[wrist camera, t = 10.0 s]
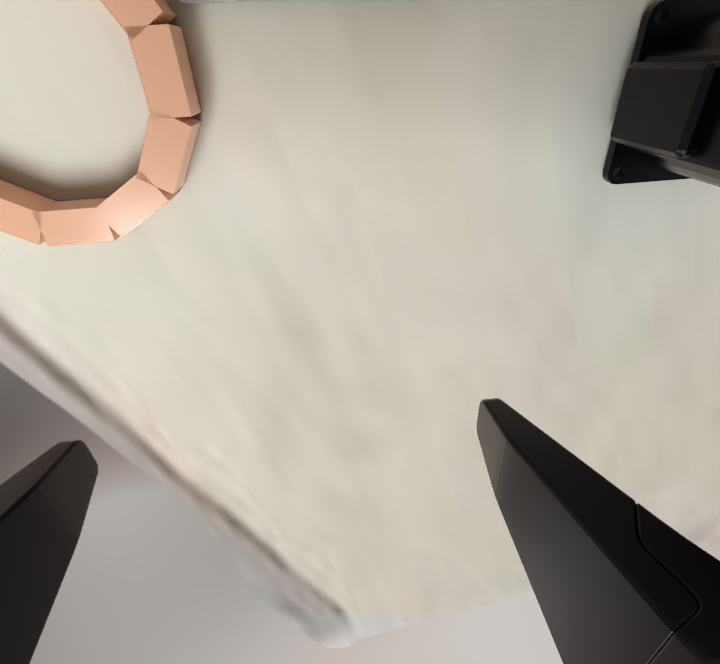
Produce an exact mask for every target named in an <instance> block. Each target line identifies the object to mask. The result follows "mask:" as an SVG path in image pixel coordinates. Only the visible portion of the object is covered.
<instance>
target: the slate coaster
mask: <svg viewBox="0 0 720 664" xmlns="http://www.w3.org/2000/svg"><path fill="white" fill-rule="evenodd" d="M179 1H180V2H182V3H184V4H188V3H205V2H222V1H239V0H179Z"/></svg>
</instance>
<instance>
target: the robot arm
mask: <svg viewBox="0 0 720 664" xmlns="http://www.w3.org/2000/svg"><path fill="white" fill-rule="evenodd" d="M659 11H661V13H662V16H661V19H660V21H659V23H658V24H657V25H656V23H655V17H656V15H657V13H658V12H659ZM611 137H612V138H611V142H610V146H609V150H608V154H607V158H606V162H605V165H604V169H603V178H604V180H606V181H607V182H609V183H612V184H625V183H637V182H650V181H663V180H676V179H688V178H693V179H696V180H699V181H703V182H706V183H709V184H712V185H715V186H719V187H720V0H662V1H658V2H654V3H653V4H652V5H650V6H649V7H648V8H647V10H646V11H645V12H644V15H643V17H642V20H641V24H640V28H639V32H638V36H637V40H636V44H635V48H634V52H633V56H632V60H631V63H630V67H629V68H628V69H627V72H626V76H625V80H624V84H623V88H622V91H621V95H620V99H619V103H618V107H617V111H616V115H615V119H614V123H613V127H612V131H611ZM618 167H619V172H618V173H617V174H616V175H615V176H613V173H614V171H615V169H617V168H618ZM477 434H478V438H479V441H480V445H481V448H482V452H483V455H484V459H485V462H486V466H487V470H488V473H489V477H490V480H491V484H492V487H493V490H494V494H495V497H496V499H497V502H498V505H499V507H500V510H501V512H502V515H503V517H504V520H505V522H506V524H507V527H508V529H509V532H510V534H511V537H512V539H513V542H514V544H515V546H516V549H517V551H518V554H519V556H520V559H521V561H522V564H523V566H524V568H525V571H526V573H527V576H528V578H529V581H530V583H531V586H532V588H533V591H534V593H535V595H536V598H537V600H538V603H539V605H540V607H541V610H542V613H543V615H544V617H545V620H546V622H547V625H548V627H549V629H550V632H551V635H552V637H553V639H554V642H555V644H556V647H557V649H558V652H559V654H560V657H561V659H562V661H563V664H720V561H719V560H717V559H716V558H714V557H713V556H712V555H710V554H708V553H707V552H706V551H704V550H702V549H701V548H700V547H698V546H697V545H695V544H694V543H692V542H691V541H689V540H688V539H686V538H685V537H684V536H682V535H681V534H679V533H678V532H677V531H675V530H674V529H673V528H671V527H670V526H668V525H667V524H666V523H664V522H663V521H661V520H660V519H659V518H657V517H656V516H655V515H653V514H652V513H651V512H649V511H648V510H647V509H645V508H644V507H643V506H641V505H640V504H635V501H634V500H633V499H632V498H631V497H629V496H628V495H627V494H625V493H624V492H623V491H621V490H620V489H619V488H617V487H616V486H615V485H613V484H612V483H611V482H609V481H608V480H607V479H605V478H604V477H603V476H601V475H600V474H599V473H597V472H596V471H595V470H593V469H592V468H591V467H590V466H588V465H587V464H586V463H584V462H583V461H582V460H580V459H579V458H578V457H576V456H575V455H574V454H572V453H571V452H570V451H568V450H567V449H566V448H564V447H563V446H562V445H560V444H559V443H558V442H556V441H555V440H554V439H552V438H551V437H550V436H548V435H547V434H546V433H544V432H543V431H542V430H540V429H539V428H538V427H537V426H535V425H534V424H533V423H531V422H530V421H529V420H527V419H526V418H525V417H523V416H522V415H521V414H519V413H518V412H517V411H515V410H514V409H513V408H511V407H510V406H509V405H507V404H506V403H505V402H503V401H502V400H500V399H498V398H495V399H484V400H482V401H481V402H480V405H479V412H478V420H477ZM97 474H98V465H97V462H96V460H95V458H94V457H93V455H92V454H91V452H90V450H89V449H88V447H87V445H86V444H85V442H84V441H82V440H79V439H76V440H66V441H61V442H59V443H57V444H56V445H54V446H53V447H52V448H51V449H49V450H48V451H46V452H45V453H43V454H42V455H41V456H39V457H38V458H37V459H35V460H34V461H32V462H31V463H30V464H28V465H27V466H26V467H24V468H23V469H21V470H20V471H19V472H17V473H16V474H15V475H13V476H12V477H11V478H9V479H8V480H6V481H5V482H4V483H2V484H1V485H0V664H30V661H31V659H32V656H33V654H34V651H35V649H36V646H37V644H38V641H39V639H40V636H41V633H42V631H43V629H44V626H45V624H46V621H47V618H48V616H49V614H50V611H51V608H52V606H53V604H54V601H55V598H56V596H57V593H58V591H59V588H60V586H61V583H62V581H63V578H64V576H65V573H66V571H67V568H68V566H69V563H70V561H71V558H72V556H73V553H74V551H75V548H76V545H77V543H78V540H79V537H80V534H81V530H82V527H83V524H84V520H85V517H86V513H87V510H88V506H89V503H90V499H91V495H92V492H93V488H94V485H95V481H96V478H97Z"/></svg>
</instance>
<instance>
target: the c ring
mask: <svg viewBox="0 0 720 664" xmlns="http://www.w3.org/2000/svg"><path fill="white" fill-rule="evenodd" d="M100 1H101V2H102V3H103V4H104V6H105V7H106V8H107V9H108V11H109V12H110V13H111V14H112V16H113V17H114V18H115V19H116V21H117V22H118V23H119V24H120V26H121V27H122V28H123V29H124V31H125V32H126V33H127V35H128V39H129V42H130V45H131V49H132V52H133V56H134V59H135V62H136V66H137V69H138V73H139V76H140V79H141V83H142V86H143V89H144V93H145V96H146V100H147V103H148V106H149V110H150V117H149V122H148V126H147V131H146V135H145V140H144V145H143V149H142V154H141V158H140V163H139V168H138V172H137V174H136V175H135V176H134V177H132V178H131V179H130V180H129V181H128V182H126V183H125V184H124V185H123V186H122V187H120V188H119V189H118V190H117V191H116V192H114V193H113V194H112V195H111V196H110V197H108V198H96V199H83V200H69V201H55V200H52V199H49V198H47V197H44V196H42V195H39V194H37V193H34V192H32V191H29V190H26V189H24V188H21V187H19V186H16V185H14V184H11V183H9V182H6V181H3V180H1V179H0V231H2V232H5V233H8V234H11V235H13V236H16V237H19V238H22V239H25V240H27V241H30V242H33V243H36V244H41V243H42V242H44V241H45V240H46V242H47V245H48V246H55V245H68V244H80V243H93V242H105V241H115V240H116V239H117V238H118V237H121V238H123V237H124V236H125V235H127V234H128V233H129V232H130V231H132V230H133V229H134V228H135V227H137V226H138V225H139V224H140V223H142V222H143V221H144V220H146V219H147V218H148V217H149V216H151V215H152V214H153V213H154V212H156V211H157V210H158V209H159V208H161V207H162V206H163V205H165V204H166V203H167V202H168V201H170V200H171V199H172V198H173V197H174V196H175V195H176V194H177V193H178V192H179V189H180V188H181V187H182V186H183V185H184V182H185V178H186V175H187V171H188V168H189V164H190V160H191V157H192V153H193V150H194V146H195V142H196V139H197V135H198V131H199V128H200V124H201V121H199V120H197V119H194V118H192V117H190V116H194V115H196V114H198V113H201V109H200V105H199V101H198V96H197V92H196V88H195V84H194V79H193V75H192V71H191V67H190V62H189V58H188V54H187V49H186V45H185V41H184V37H183V32H182V28H181V27H178V26H174V25H170V24H168V23H169V22H170V21H171V20H172V19H173V18H174V17H175V16H176V15H175V14H174V12H173V11H172V10H171V8H170V7H169V5H168V4H167V3H166V1H165V0H100Z"/></svg>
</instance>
